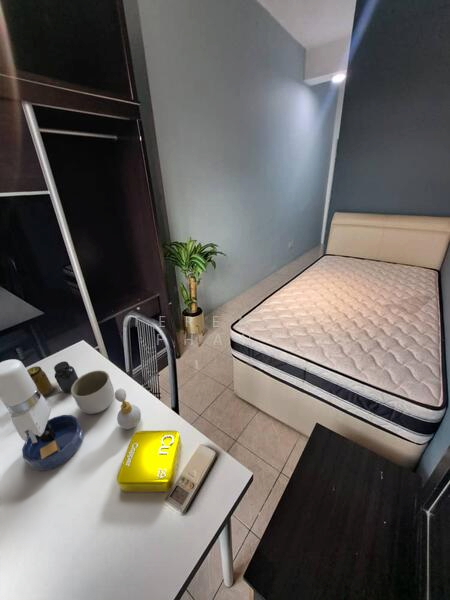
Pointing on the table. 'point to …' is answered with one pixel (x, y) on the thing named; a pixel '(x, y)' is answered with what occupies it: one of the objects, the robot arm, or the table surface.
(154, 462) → the element tile
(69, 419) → the bowl
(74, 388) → the planter
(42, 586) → the table surface
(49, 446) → the block
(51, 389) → the condiment
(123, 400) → the perfume bottle
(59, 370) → the supplement bottle
